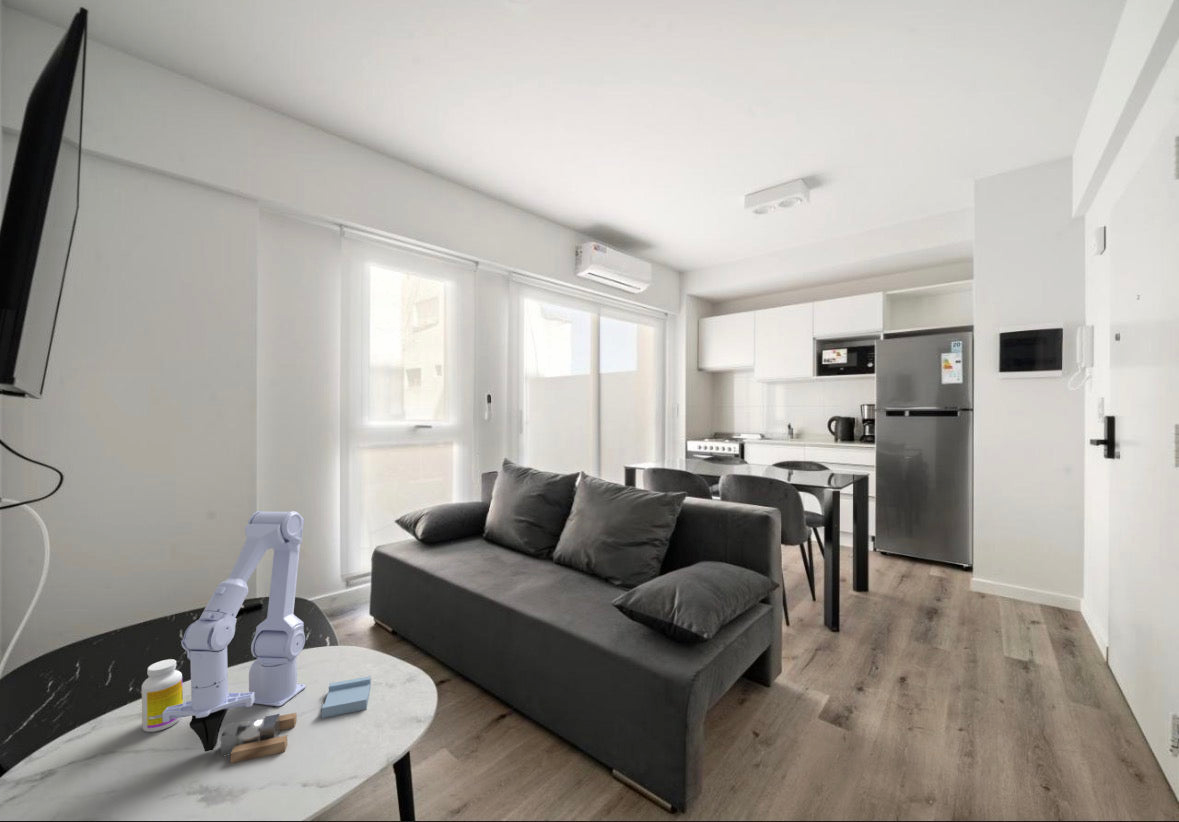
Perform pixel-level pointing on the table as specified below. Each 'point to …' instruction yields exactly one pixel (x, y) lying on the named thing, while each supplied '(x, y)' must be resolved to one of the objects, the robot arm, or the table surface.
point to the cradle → (347, 696)
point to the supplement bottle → (160, 694)
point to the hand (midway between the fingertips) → (210, 747)
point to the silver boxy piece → (249, 732)
